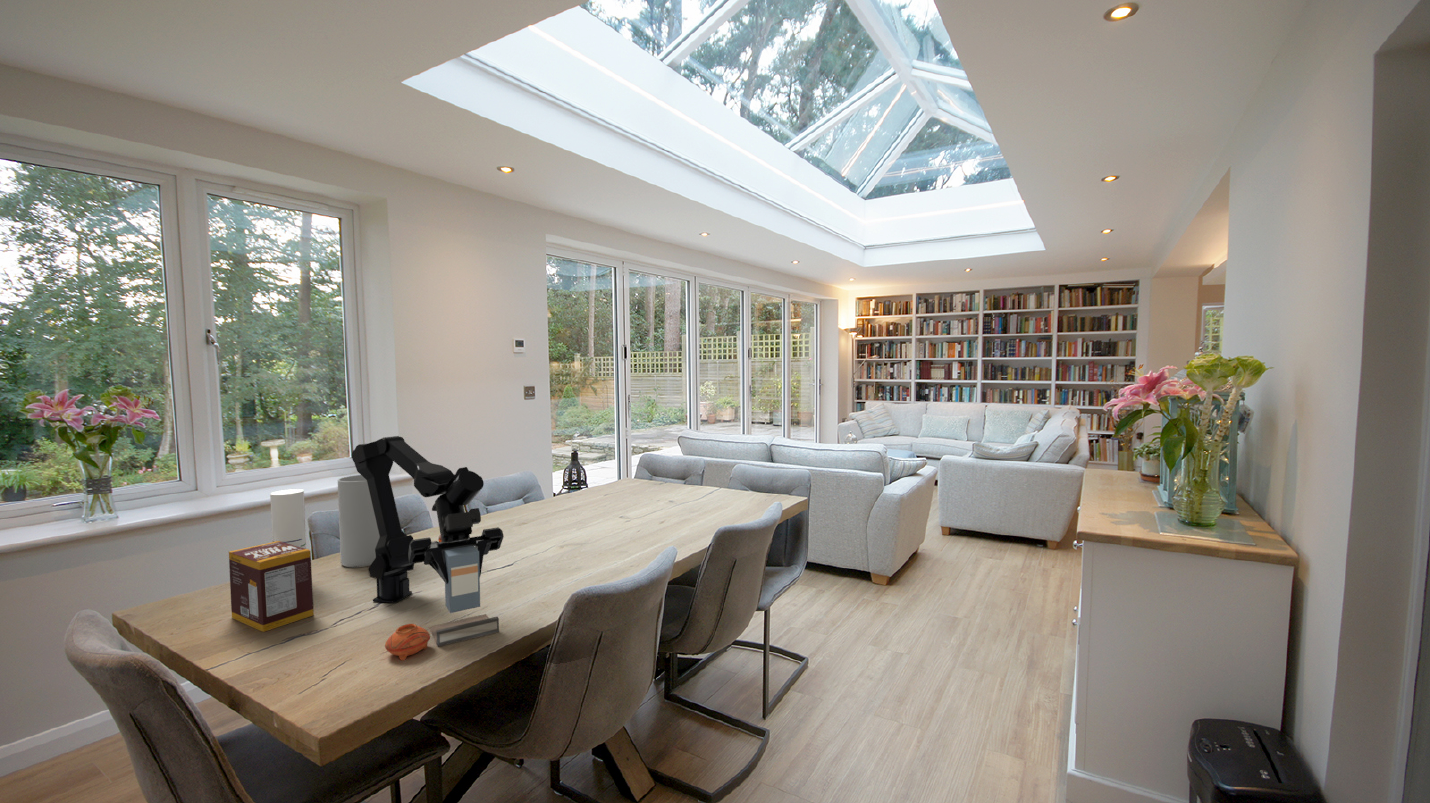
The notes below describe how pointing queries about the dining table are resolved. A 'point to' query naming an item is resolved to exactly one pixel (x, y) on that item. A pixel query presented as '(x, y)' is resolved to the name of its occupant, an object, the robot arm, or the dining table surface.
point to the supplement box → (271, 585)
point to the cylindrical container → (288, 517)
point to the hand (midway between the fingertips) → (463, 579)
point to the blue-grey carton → (462, 579)
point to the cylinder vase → (356, 522)
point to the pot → (407, 640)
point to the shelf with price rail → (464, 629)
